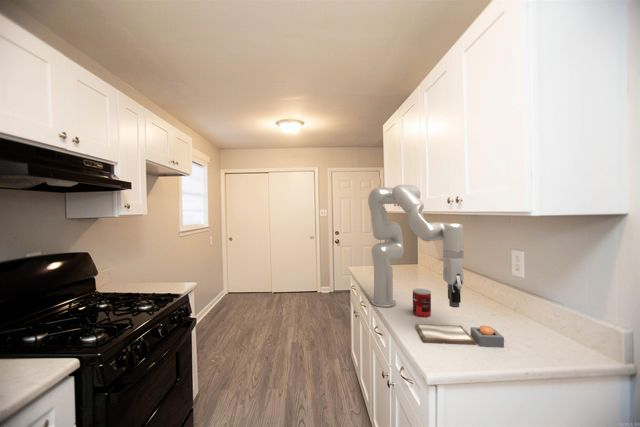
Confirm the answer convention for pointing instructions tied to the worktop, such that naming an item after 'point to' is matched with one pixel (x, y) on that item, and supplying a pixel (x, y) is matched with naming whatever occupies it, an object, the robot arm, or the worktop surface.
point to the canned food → (421, 302)
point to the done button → (486, 330)
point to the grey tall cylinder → (450, 297)
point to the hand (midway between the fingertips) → (454, 300)
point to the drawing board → (444, 334)
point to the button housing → (487, 338)
